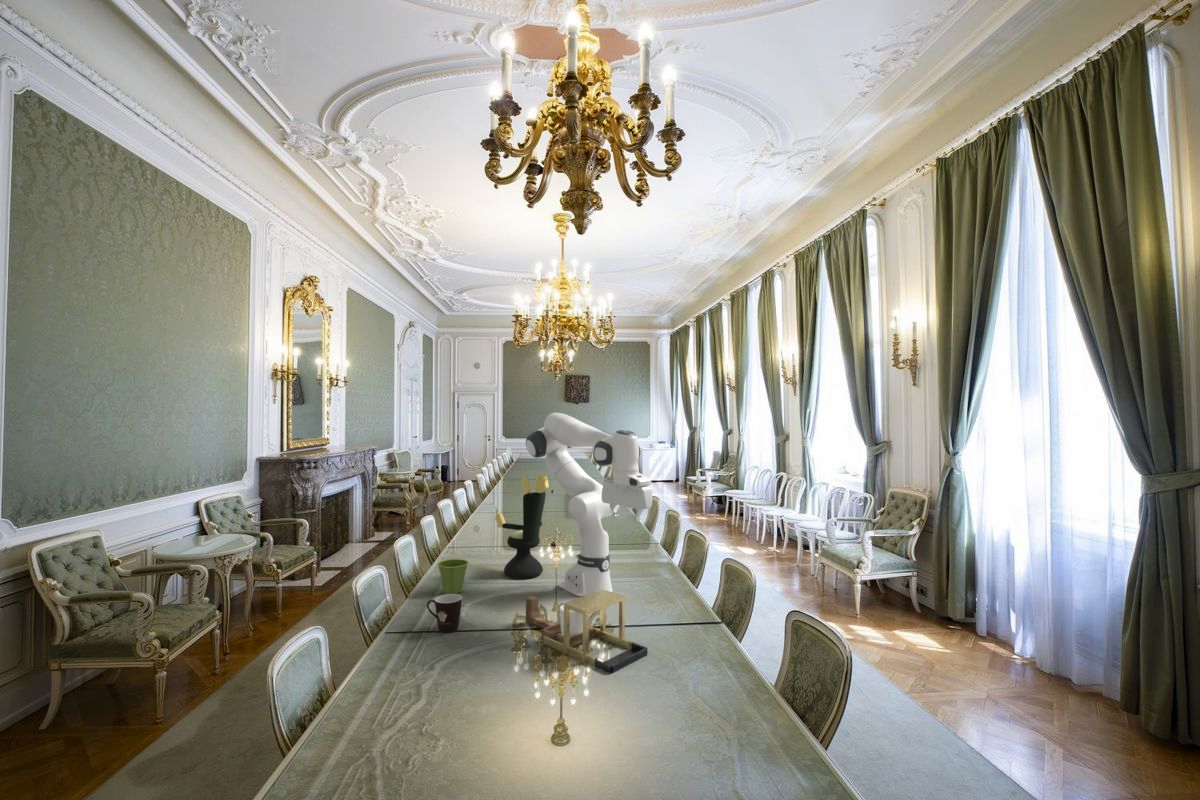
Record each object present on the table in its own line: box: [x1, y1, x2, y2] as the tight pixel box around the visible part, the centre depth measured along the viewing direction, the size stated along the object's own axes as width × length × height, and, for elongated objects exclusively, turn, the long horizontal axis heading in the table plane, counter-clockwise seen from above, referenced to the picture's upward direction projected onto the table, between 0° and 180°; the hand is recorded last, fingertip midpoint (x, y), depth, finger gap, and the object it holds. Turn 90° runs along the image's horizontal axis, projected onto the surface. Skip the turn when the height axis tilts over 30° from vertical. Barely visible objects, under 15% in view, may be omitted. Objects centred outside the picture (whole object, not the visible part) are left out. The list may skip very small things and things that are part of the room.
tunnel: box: [542, 590, 648, 674], centre depth 167 cm, size 28×17×15 cm, turn 47°
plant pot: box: [436, 558, 469, 594], centre depth 217 cm, size 12×12×11 cm
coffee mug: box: [426, 593, 463, 634], centre depth 182 cm, size 12×9×10 cm
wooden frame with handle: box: [525, 595, 596, 648], centre depth 179 cm, size 25×12×8 cm, turn 47°
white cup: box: [559, 603, 583, 638], centre depth 173 cm, size 8×8×10 cm
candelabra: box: [495, 471, 550, 580], centre depth 239 cm, size 19×22×45 cm
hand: (626, 519), depth 190 cm, fingers open, 8 cm apart
